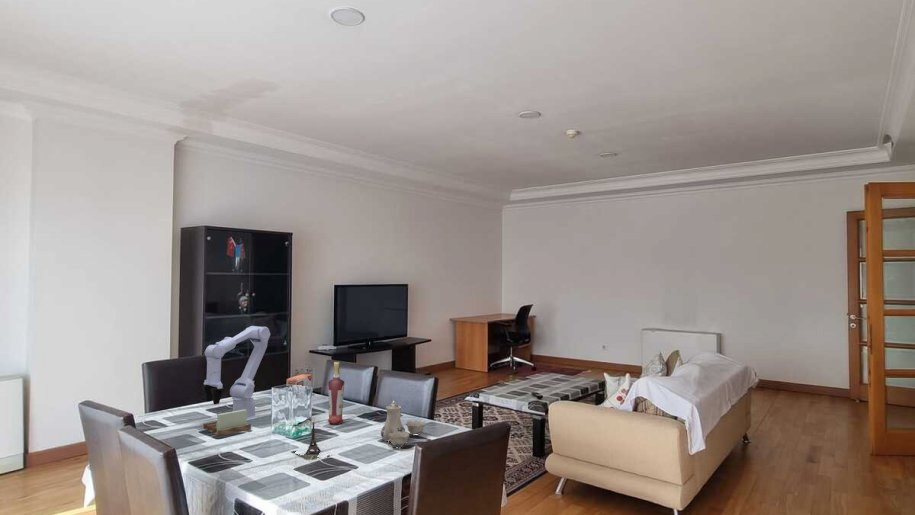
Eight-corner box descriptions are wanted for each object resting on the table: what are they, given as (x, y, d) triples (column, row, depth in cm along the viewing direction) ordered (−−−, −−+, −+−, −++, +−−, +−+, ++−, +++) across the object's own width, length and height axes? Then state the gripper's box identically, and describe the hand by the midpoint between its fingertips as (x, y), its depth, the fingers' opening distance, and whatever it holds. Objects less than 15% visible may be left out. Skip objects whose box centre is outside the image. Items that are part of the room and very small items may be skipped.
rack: (234, 423, 242) (235, 417, 242) (250, 430, 231) (251, 424, 231) (203, 429, 232) (203, 423, 232) (218, 437, 221) (218, 430, 221)
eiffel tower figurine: (289, 453, 204) (290, 418, 205) (312, 447, 211) (313, 413, 212) (309, 462, 194) (310, 425, 194) (333, 456, 201) (334, 420, 201)
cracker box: (296, 426, 239) (297, 379, 240) (284, 425, 240) (285, 378, 241) (311, 418, 253) (312, 374, 254) (299, 417, 254) (300, 373, 255)
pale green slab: (244, 427, 233) (244, 409, 234) (246, 428, 232) (247, 410, 232) (216, 433, 225) (217, 414, 225) (218, 434, 223) (219, 414, 224)
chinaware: (406, 456, 205) (411, 414, 206) (366, 448, 209) (371, 406, 209) (427, 436, 232) (431, 398, 233) (391, 429, 236) (395, 392, 237)
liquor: (341, 425, 241) (342, 363, 242) (325, 425, 241) (326, 363, 243) (345, 421, 249) (346, 361, 250) (329, 420, 249) (331, 360, 250)
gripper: (198, 371, 240) (197, 401, 240) (211, 375, 230) (210, 406, 230) (213, 369, 245) (212, 398, 245) (227, 373, 236) (226, 404, 235)
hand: (212, 402), depth 238 cm, fingers open, 7 cm apart
